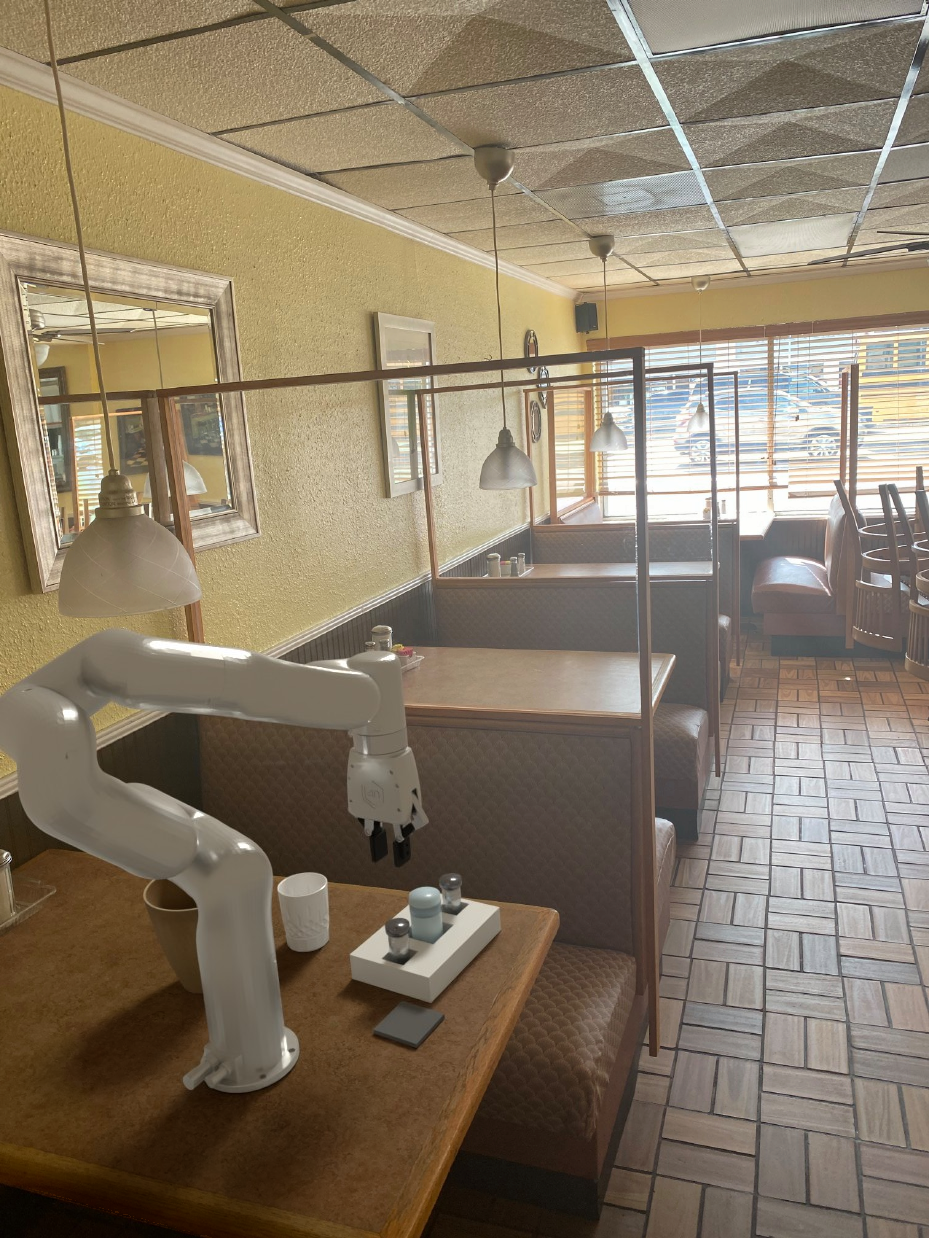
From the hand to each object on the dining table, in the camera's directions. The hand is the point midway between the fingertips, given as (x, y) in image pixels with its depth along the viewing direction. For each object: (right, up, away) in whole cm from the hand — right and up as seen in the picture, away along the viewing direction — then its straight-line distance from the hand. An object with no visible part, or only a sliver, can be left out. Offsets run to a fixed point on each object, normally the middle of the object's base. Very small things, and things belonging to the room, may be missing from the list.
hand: (391, 859), depth 132 cm
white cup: (-15, -18, +16) cm, 28 cm away
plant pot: (-28, -20, +7) cm, 36 cm away
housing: (+5, -17, +10) cm, 21 cm away
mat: (+3, -21, -7) cm, 22 cm away
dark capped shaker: (+9, -13, +16) cm, 22 cm away
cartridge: (+5, -17, +10) cm, 21 cm away
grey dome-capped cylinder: (+1, -16, +3) cm, 16 cm away
